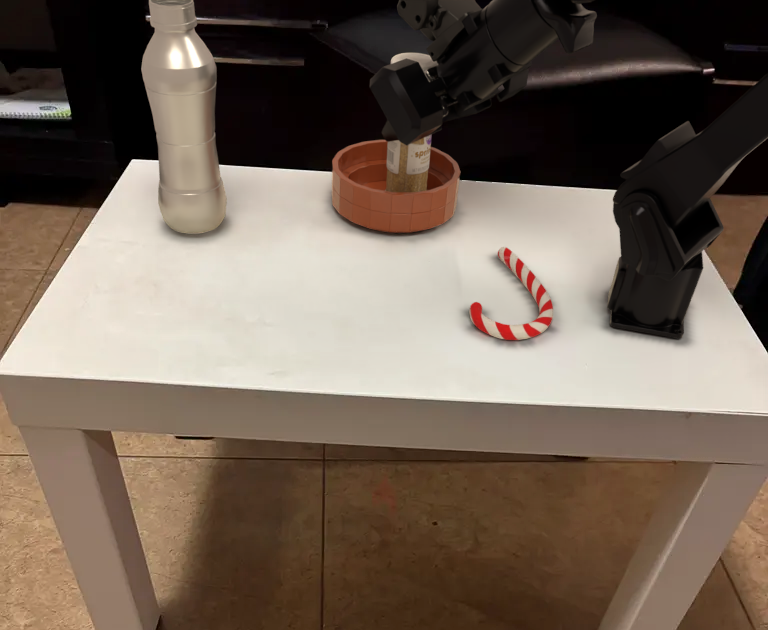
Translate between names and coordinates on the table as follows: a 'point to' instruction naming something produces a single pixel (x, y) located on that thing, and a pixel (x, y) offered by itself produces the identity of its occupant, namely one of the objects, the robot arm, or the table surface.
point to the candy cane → (536, 291)
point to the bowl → (391, 209)
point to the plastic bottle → (184, 119)
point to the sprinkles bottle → (409, 148)
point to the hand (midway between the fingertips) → (399, 130)
